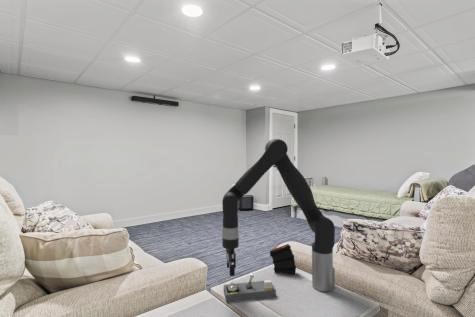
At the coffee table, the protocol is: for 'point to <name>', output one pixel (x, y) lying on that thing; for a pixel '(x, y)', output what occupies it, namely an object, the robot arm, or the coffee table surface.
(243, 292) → the panel
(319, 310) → the coffee table surface
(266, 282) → the slider
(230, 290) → the button
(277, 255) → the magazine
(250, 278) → the toggle
